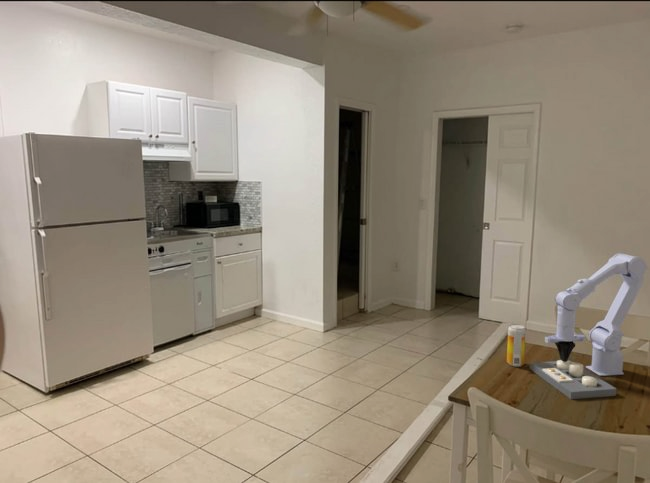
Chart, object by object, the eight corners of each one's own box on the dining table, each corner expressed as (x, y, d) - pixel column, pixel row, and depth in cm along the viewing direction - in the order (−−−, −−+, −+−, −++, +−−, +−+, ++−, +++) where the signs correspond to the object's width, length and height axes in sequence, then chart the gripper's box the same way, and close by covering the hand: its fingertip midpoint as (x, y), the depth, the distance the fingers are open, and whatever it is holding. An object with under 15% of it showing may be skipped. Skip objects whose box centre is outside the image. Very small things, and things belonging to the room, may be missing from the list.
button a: (564, 369, 172) (565, 359, 172) (572, 374, 168) (572, 364, 168) (553, 370, 172) (554, 360, 171) (561, 375, 168) (561, 365, 167)
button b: (577, 372, 165) (578, 361, 165) (585, 377, 161) (586, 366, 160) (565, 372, 165) (566, 362, 164) (573, 378, 160) (574, 367, 160)
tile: (555, 369, 167) (555, 367, 167) (573, 381, 157) (573, 379, 157) (542, 370, 167) (542, 368, 167) (559, 382, 157) (559, 380, 157)
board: (569, 366, 176) (569, 360, 175) (616, 395, 152) (616, 388, 152) (529, 368, 174) (530, 362, 174) (570, 399, 150) (571, 392, 150)
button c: (590, 386, 159) (591, 375, 158) (599, 392, 154) (600, 381, 154) (578, 387, 158) (579, 376, 158) (587, 392, 154) (587, 382, 153)
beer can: (520, 361, 181) (522, 324, 179) (525, 367, 175) (527, 329, 173) (504, 360, 182) (506, 323, 180) (509, 367, 176) (511, 329, 174)
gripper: (577, 320, 172) (575, 355, 174) (540, 322, 171) (538, 357, 173) (590, 326, 165) (587, 362, 167) (552, 328, 164) (550, 365, 166)
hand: (563, 360), depth 169 cm, fingers closed
